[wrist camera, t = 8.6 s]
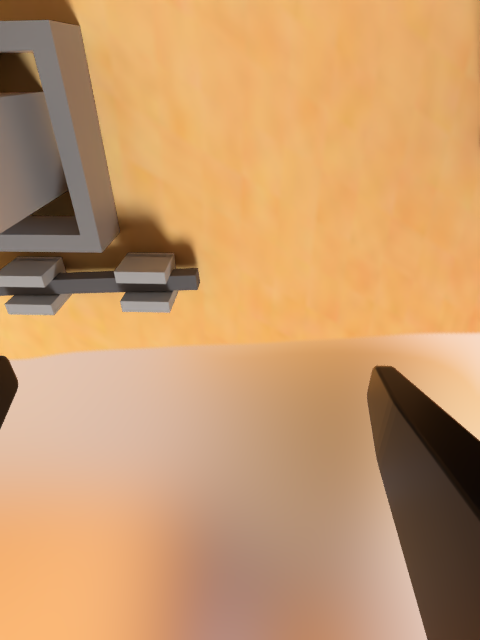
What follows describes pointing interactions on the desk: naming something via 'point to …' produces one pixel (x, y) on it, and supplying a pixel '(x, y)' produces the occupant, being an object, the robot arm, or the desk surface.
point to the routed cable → (95, 283)
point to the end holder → (65, 142)
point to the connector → (27, 157)
